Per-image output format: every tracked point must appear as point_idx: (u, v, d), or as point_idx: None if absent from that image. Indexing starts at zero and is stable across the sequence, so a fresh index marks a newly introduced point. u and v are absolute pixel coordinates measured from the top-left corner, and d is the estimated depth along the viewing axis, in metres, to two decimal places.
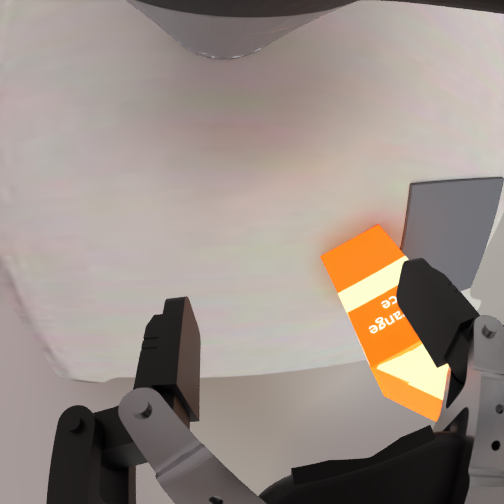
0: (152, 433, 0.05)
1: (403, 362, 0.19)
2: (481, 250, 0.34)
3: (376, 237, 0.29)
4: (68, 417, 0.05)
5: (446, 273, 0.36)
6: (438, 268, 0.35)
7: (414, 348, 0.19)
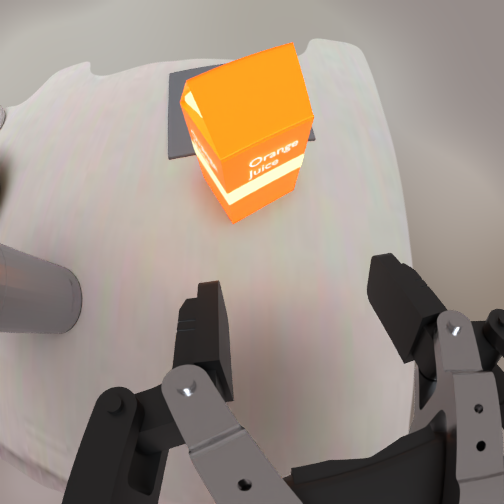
0: (200, 408, 0.06)
1: None
2: None
3: (206, 177, 0.34)
4: (109, 399, 0.06)
5: None
6: None
7: None
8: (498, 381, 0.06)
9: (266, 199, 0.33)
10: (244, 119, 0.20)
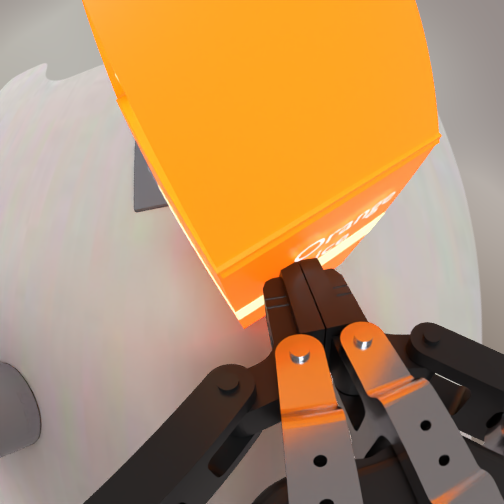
0: (322, 372, 0.06)
1: None
2: None
3: None
4: (225, 375, 0.06)
5: None
6: None
7: None
8: (440, 390, 0.07)
9: None
10: (296, 127, 0.06)
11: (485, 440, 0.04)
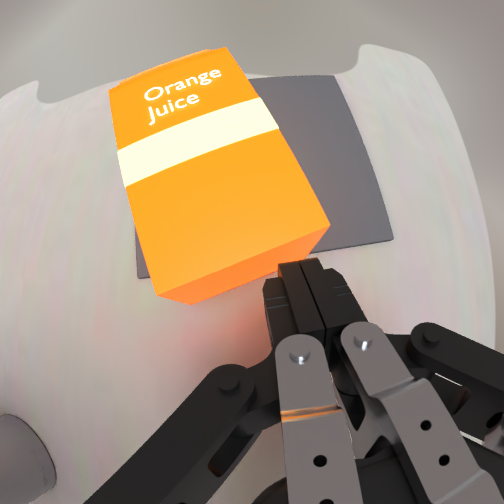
0: (322, 372, 0.06)
1: None
2: (260, 84, 0.25)
3: None
4: (224, 375, 0.06)
5: (305, 138, 0.23)
6: None
7: None
8: (440, 390, 0.07)
9: (233, 219, 0.13)
10: None
11: (485, 440, 0.04)
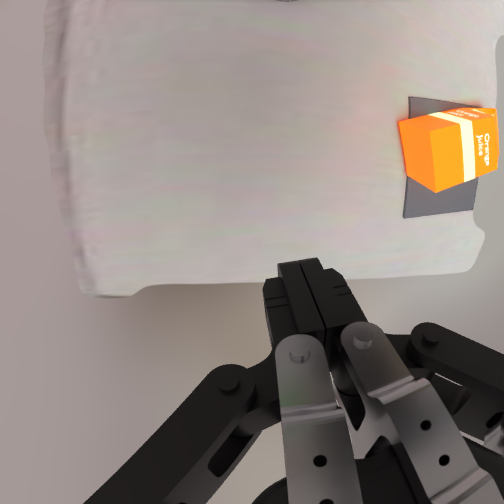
0: (322, 372, 0.06)
1: None
2: None
3: (412, 120, 0.34)
4: (224, 375, 0.06)
5: None
6: None
7: None
8: (440, 390, 0.07)
9: (443, 161, 0.30)
10: None
11: (485, 440, 0.04)
